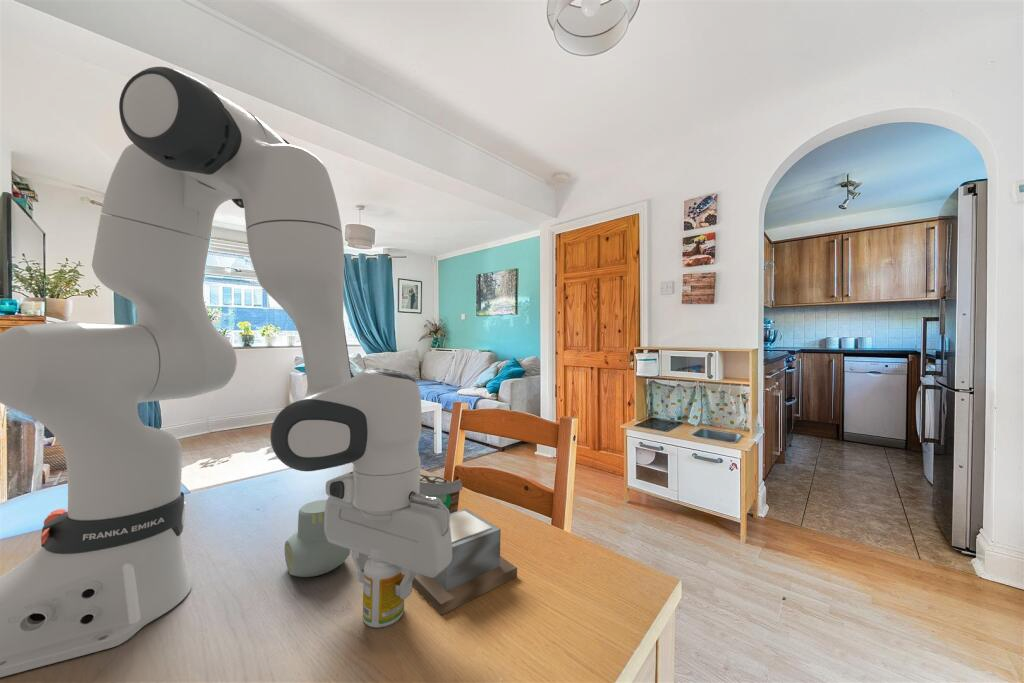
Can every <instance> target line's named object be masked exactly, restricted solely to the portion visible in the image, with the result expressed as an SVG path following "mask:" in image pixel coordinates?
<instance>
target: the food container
mask: <svg viewBox="0 0 1024 683" xmlns="http://www.w3.org/2000/svg"><path fill="white" fill-rule="evenodd" d="M462 490H463V483H462V479H461V478H459V479H457V480H453V481H452V480H451V481H450V480H447V479H445V478H442V477H440V476H429V475H424V474H420V494H423V495H426V496H428V497H436V498H439V499H441V502H442V503H443V504H444V505H445V506H446V507H447V509H449V512H450V513H454V512H457V511H459V502H460V500H459V499H460V492H461V491H462ZM440 507H441V506H440Z"/></svg>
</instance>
